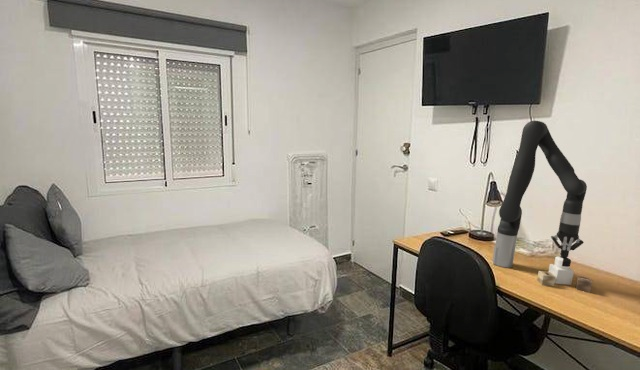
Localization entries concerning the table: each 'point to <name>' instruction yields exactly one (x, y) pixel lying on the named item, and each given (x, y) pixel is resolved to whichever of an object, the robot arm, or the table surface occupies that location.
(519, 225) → the robot arm
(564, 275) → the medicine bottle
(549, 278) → the oak cube
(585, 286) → the walnut cube
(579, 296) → the table surface
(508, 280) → the table surface
